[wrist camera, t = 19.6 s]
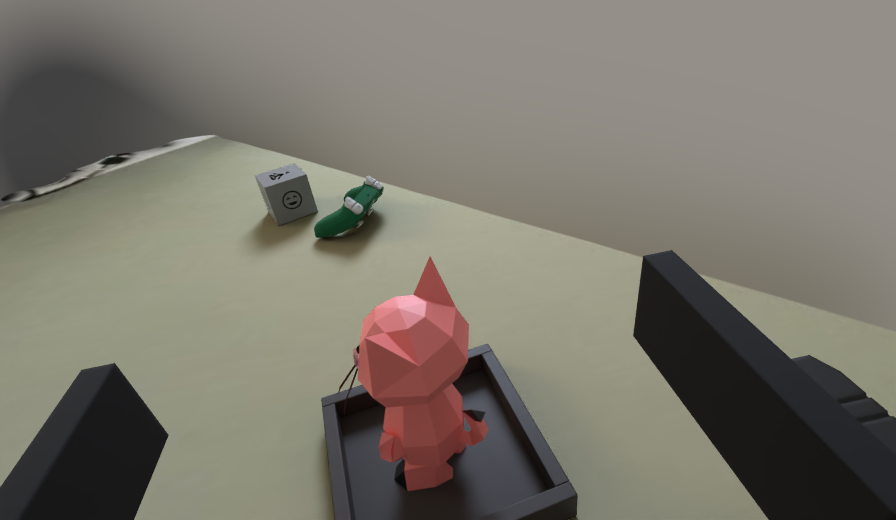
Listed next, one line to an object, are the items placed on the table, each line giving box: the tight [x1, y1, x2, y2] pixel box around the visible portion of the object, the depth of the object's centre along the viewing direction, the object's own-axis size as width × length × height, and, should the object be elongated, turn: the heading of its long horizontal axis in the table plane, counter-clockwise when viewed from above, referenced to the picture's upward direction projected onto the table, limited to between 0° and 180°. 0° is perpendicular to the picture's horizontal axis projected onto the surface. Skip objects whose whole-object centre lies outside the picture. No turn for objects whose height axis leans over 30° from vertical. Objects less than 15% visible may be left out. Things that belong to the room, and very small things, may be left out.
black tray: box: [321, 344, 577, 520], centre depth 27 cm, size 12×12×2 cm
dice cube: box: [255, 164, 318, 226], centre depth 57 cm, size 5×5×5 cm
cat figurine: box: [337, 257, 488, 491], centre depth 24 cm, size 7×7×12 cm
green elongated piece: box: [314, 176, 384, 238], centre depth 53 cm, size 9×4×6 cm
